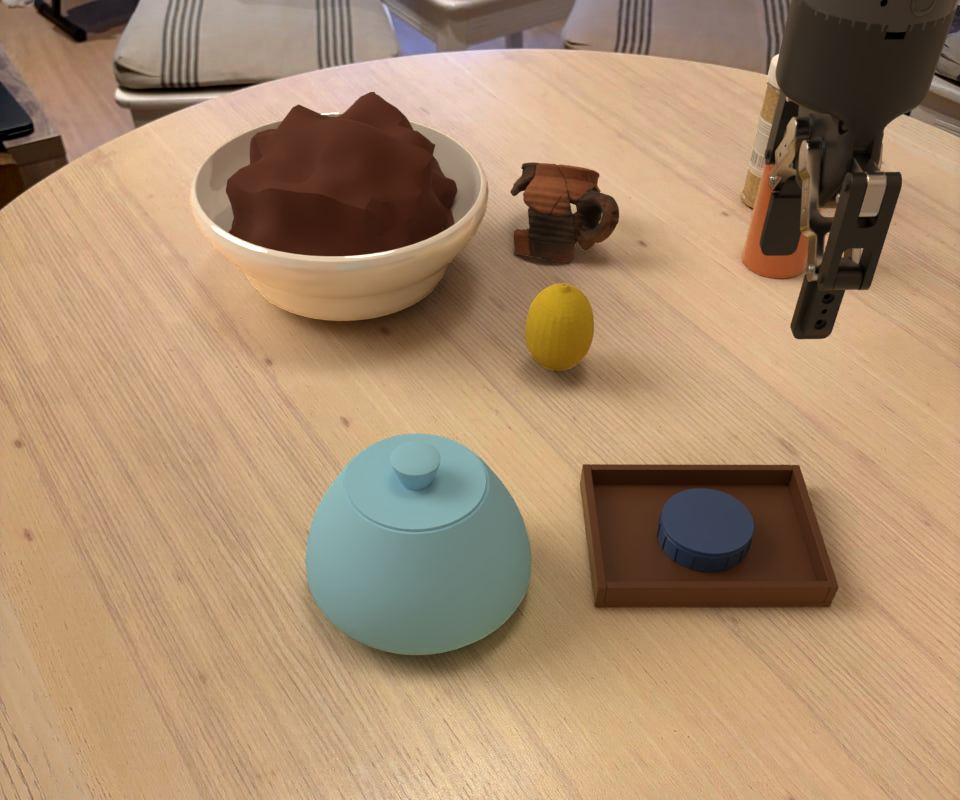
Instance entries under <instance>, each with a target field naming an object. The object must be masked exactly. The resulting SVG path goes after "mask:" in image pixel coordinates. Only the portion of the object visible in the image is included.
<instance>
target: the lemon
mask: <svg viewBox="0 0 960 800" xmlns="http://www.w3.org/2000/svg"><path fill="white" fill-rule="evenodd" d="M594 320H595V319H594V311H593V307H592V304H591V302H590V301H589V298H588V297H587V296H586V294H585V293H584V292H583V291H582V290H580V289H579V288H578V287H576V286H574V285H571V284H569V283H566V282H561V283H555V284H552V285H549V286H547V287H545V288H544V289H542V290H541V291H539V293H537V295H536V296H535V298H534V299H533V300H532V302H531V304H530V306H529V308H528V312H527V315H526V319H525V325H524V337H525V343H526V348H527V349H528V352H529V354H530V356H531V357H532V359H533V360H534V361H535V362H536V363H537V364H538V365H540V366H541V367H542V368H545V369H547V370H550V371H553V372H559V371H566V370H569V369H571V368H573V367H575V366H577V365H578V364H579V363H580V362H581V361H582V360H583V359H584V358H585V357H586V355H588V352H589V351H590V347H591V345H592V342H593V339H594V335H595V322H594Z"/></svg>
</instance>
